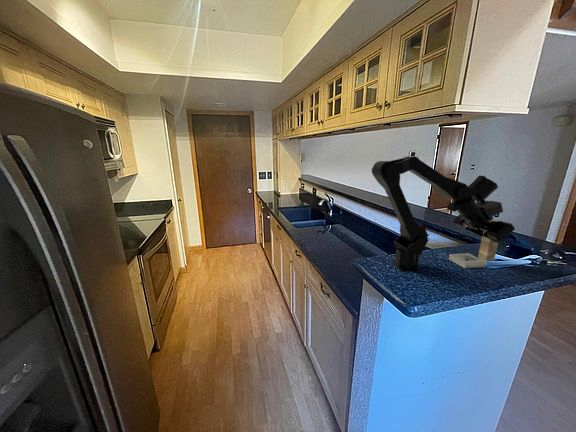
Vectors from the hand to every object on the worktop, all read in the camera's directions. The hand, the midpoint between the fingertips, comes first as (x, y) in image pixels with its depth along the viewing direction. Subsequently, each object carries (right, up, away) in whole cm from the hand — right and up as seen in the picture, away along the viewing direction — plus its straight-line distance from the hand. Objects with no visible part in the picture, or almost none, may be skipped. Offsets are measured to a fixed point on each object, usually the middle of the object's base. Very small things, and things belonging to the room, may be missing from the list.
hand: (493, 240), depth 85 cm
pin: (-1, -7, +2) cm, 7 cm away
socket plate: (-8, -8, +2) cm, 12 cm away
